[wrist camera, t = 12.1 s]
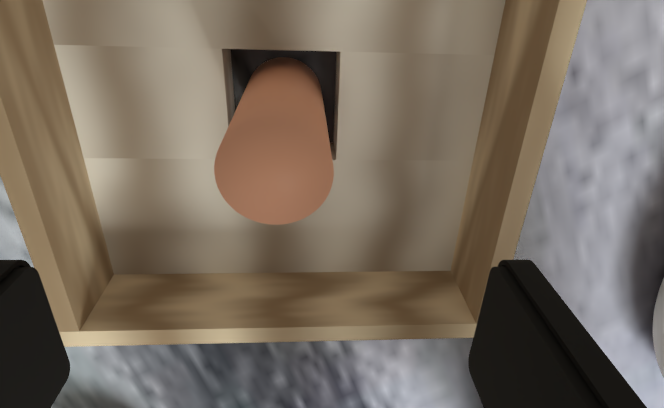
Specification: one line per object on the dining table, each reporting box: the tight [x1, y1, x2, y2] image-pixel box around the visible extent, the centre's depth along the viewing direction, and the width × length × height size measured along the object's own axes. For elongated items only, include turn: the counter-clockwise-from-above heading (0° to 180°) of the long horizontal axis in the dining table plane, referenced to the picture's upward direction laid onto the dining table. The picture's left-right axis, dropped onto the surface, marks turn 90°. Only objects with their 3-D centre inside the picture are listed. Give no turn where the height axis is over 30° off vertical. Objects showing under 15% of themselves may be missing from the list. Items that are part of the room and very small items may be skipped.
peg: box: [214, 57, 334, 225], centre depth 19 cm, size 4×4×10 cm
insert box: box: [0, 0, 587, 347], centre depth 20 cm, size 22×22×7 cm
